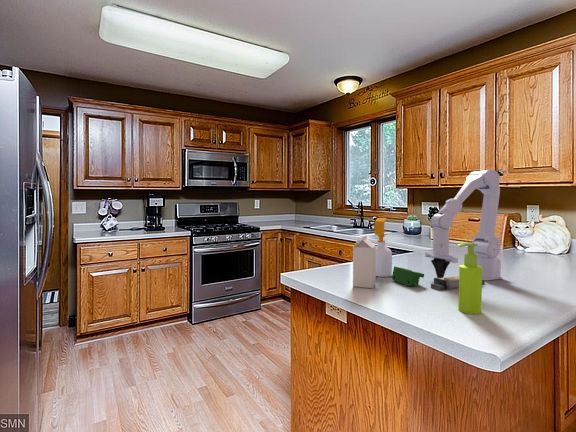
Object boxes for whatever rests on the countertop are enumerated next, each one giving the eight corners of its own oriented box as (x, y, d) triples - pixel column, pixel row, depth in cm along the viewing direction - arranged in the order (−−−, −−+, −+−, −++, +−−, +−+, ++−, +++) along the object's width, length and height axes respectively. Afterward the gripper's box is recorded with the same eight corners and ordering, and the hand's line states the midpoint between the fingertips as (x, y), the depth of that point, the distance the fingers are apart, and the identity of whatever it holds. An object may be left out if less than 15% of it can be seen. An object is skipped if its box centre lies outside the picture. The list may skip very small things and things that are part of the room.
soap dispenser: (451, 307, 101) (452, 242, 100) (472, 307, 102) (474, 241, 101) (462, 314, 95) (464, 244, 94) (485, 313, 96) (487, 244, 95)
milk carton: (375, 284, 129) (375, 235, 128) (371, 288, 123) (372, 237, 122) (357, 282, 132) (357, 234, 131) (352, 286, 126) (352, 236, 125)
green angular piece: (417, 296, 128) (428, 277, 125) (404, 294, 126) (416, 274, 123) (400, 278, 138) (410, 259, 135) (389, 275, 136) (399, 257, 133)
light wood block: (461, 283, 130) (461, 275, 130) (469, 286, 127) (469, 277, 127) (443, 286, 127) (443, 278, 126) (451, 288, 123) (451, 280, 123)
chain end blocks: (471, 280, 134) (471, 273, 134) (485, 284, 128) (485, 276, 128) (427, 286, 125) (427, 278, 125) (440, 290, 120) (440, 282, 120)
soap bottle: (394, 273, 147) (394, 217, 145) (388, 278, 139) (388, 219, 138) (374, 271, 151) (374, 217, 150) (367, 275, 144) (367, 218, 142)
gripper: (419, 242, 139) (419, 274, 139) (448, 246, 125) (447, 282, 126) (432, 241, 141) (432, 273, 142) (462, 245, 128) (461, 280, 129)
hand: (440, 277), depth 134 cm, fingers closed
